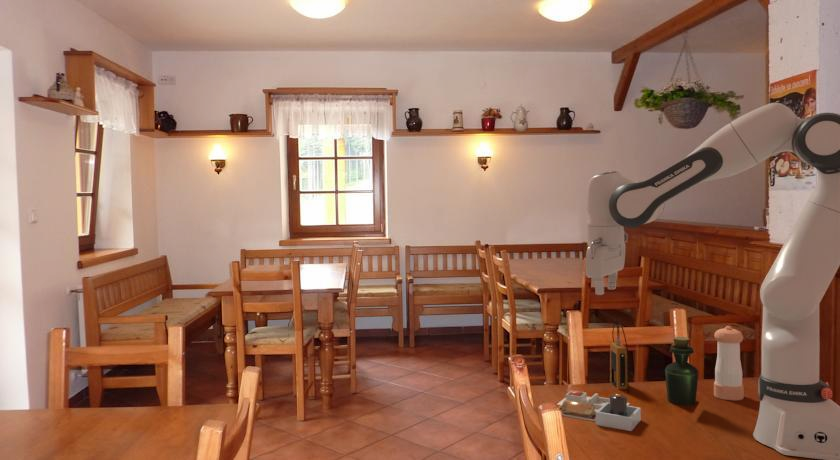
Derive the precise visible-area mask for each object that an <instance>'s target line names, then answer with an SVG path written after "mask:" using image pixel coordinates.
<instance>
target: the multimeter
mask: <svg viewBox="0 0 840 460" xmlns="http://www.w3.org/2000/svg"><path fill="white" fill-rule="evenodd" d="M613 322H614V323H613V327H612V342H610V343H609V357H610V358H609V360H610V362H609V365H610V367H609V368H610V369H609V373H608V377H607V381H608V383H609V384H612V385H613V386H614V388H616V389H617V390H627V393H630V390H629V388H630V384H629V379H630V358H629V355H630V354H629V349H628V343H627V339H626V334H625V330H624V327H623V325H622V324H621V323H620V322H619V323H617V321H616V319H613ZM615 325H616V329H617V331H616V332H617V334H616V341H615V338H614V331H615V330H614V329H615ZM620 327H621V330H622V333H623V338H624V341H625V345H624V344H622V343H621V340H620V338H621V337H620Z"/></svg>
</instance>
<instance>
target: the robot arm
mask: <svg viewBox="0 0 840 460" xmlns="http://www.w3.org/2000/svg"><path fill="white" fill-rule="evenodd" d="M784 152H789V153H790V154H792V155H793V156H794V157H796V158H797V159H798V160H799V161H801V162H802V163H804V164H806V165H807V166H809V167H812V168H815V169H816V171H817V174H818V175H817V176H818V178H817V181H816V185H815V187H814V188H813V191H812V193H811V194H810V195H809V198H808V199H807V201H806V203H805V205H804V207H803V208H802V210H801V212H800V214H799V215H798V218H797V219H796V221H795V223H794V224H793V227H792V229H791V230H790V233H789V234H788V236H787V238H786V239H785V242H784V243H783V245H782V247H781V249H780V251H779V252H778V254H777V256H776V258H775V260H774V262H773V263H772V265H771V267H770V269H769V271H768V272H767V274H766V276H765V278H764V279H763V281H762V283H761V286H760V290H759V298H760V301H761V304H762V321H761V322H762V324H761V327H762V328H761V373H760V374H759V376H758V377H759V378H758V399H759V400H760V401H759V410H758V416H757V421H756V424H755V428H754V431H753V433H752V436H753V438H754V440H755V441H758V442H759V443H761V444H762V445H765V446H767V447H770V448H771V449H773V450H776V451H777V452H778V453H780V454H782V455H783V456H784V455H785V456H788V457H789V456H792V457H800V458H808V459H815V460H816V459H817V460H840V405H838V404H837V403H836V402H835V401H833V400H832V399H831V398H832V397H833V391H832V389H831V386H830V385H829V382H827V381H826V382H824V381H823V380H821V379H820V303H821V302H822V300H823V298H824V296H825V294H826V292H827V290H828V289H829V287H830V285H831V283H832V281H833V279H834V277H835V276H836V273H837V271H838V269H839V268H840V114H839V113H836V112H835V113H834V112H821V113H817V114H814V115H812V116H810V117H808V118H807V119H806V118H805V119H804V118H800V117H799V116H797V115H796V114H795V112H794V111H793V110H792V109H791V108H790V107H788V106H787V105H785V104H783V103H780V102H770V103H767V104H765V105H762V106H760V107H757V108H755V109H753V110H751V111H749V112H747V113H744V114H743V115H741V116H739V117H737V118H736V119H734V120H732V121H731V122H729V123H727V124H726V125H724V126H723V127H722V128H720V129H718V130H717V131H716V132H714V133H713V134H712V135H710V136H709V137H708V138H706V140H705V141H703V142H702V143H701V144H700V145H698V146H697V147H696V148H695V149H694V150H692V152H690V153H689V154H688V155H687V156H685V157H684V158H682V159H681V160H680V161H678V162H676V163H674V164H673V165H671V166H669V167H667V168H666V169H664V170H662V171H660V172H659V173H657V174H655V175H654V176H652V177H650V178H647V179H646V180H644V181H637V180H633V179H631V178H629V177H627V176H625V175H624V174H622V173H621V172H619V171H616V170H615V171H614V170H613V171H606V172H602V173H598V174H596V175H595V174H594V175H593V176H592V177H591V178H590V179H589V180H588V185H587V190H586V192H587V193H586V210H587V214H588V218H587V219H588V220H587V222H586V230H587V231H586V239H587V240H586V244H588V245H590V246H588V247H587V249H586V253H585V254H586V255H585V276H586V278H589V279H590V278H591V279H592V282H593V286H594V290H595V295H597V296H602V295H604V294H605V286H604V277H607V276H608V280H607V281H608V282H607V283H606V285H607V286H606V287H607V290H609V291H610V290H611V291H613V290H615V289H616V288H617V279H618V276H619V275H618V273H619V271H622V270H624V267H625V264H626V263H625V261H626V243H627V242H628V233H626V231H625V230H624V229H625V228H630V229H633V228H638V227H639V228H640V226H643V225H645V224H649V223H651V222H654V221H655V220H657V219H658V218H660V216H661V215H662V214H663V212H664V209H665V202H666V203H667V202H668V201H670V200H672V199H673V198H675V197H676V196H678V195H680V194H682V193H683V192H685V191H688V190H689V189H690V188H691V189H692V187H695V186H698V185H699V184H702V183H706V182H708V181H714V180H719V179H720V180H721V179H726V178H729V177H733V176H735V175H736V176H737V175H738V174H742V173H744V172H745V171H747V170H749V169H751V168H753V167H756V166H757V165H759V164H760V163H762V162H765V160H768V159H769V158H771V157H773V156H775V155H777V154H780V153H784Z"/></svg>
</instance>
